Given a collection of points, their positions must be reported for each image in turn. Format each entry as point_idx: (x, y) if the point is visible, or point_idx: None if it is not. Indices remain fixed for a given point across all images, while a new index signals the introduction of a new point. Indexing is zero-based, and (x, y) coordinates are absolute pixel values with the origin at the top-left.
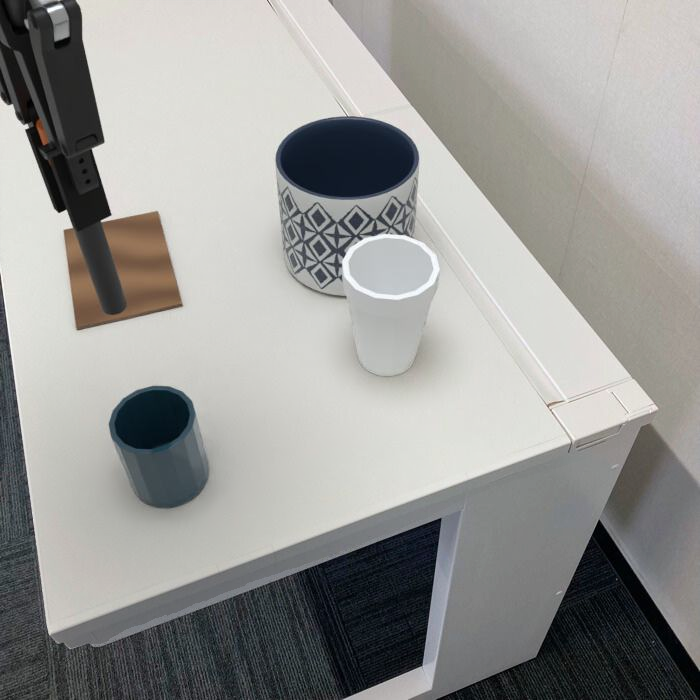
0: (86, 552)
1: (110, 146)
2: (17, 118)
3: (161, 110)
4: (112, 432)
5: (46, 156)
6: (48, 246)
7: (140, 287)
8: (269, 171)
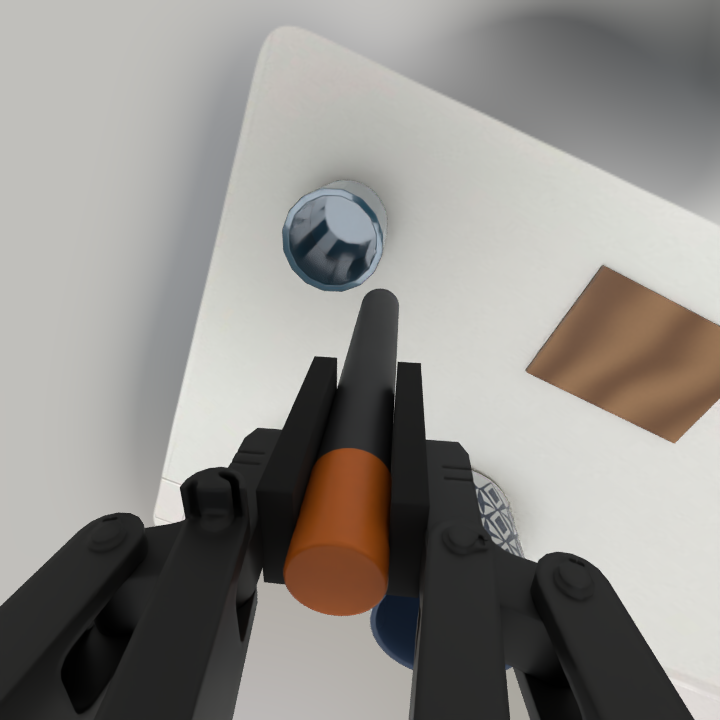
0: (326, 95)
1: None
2: (465, 529)
3: None
4: (346, 194)
5: (197, 478)
6: None
7: (588, 356)
8: (607, 550)
